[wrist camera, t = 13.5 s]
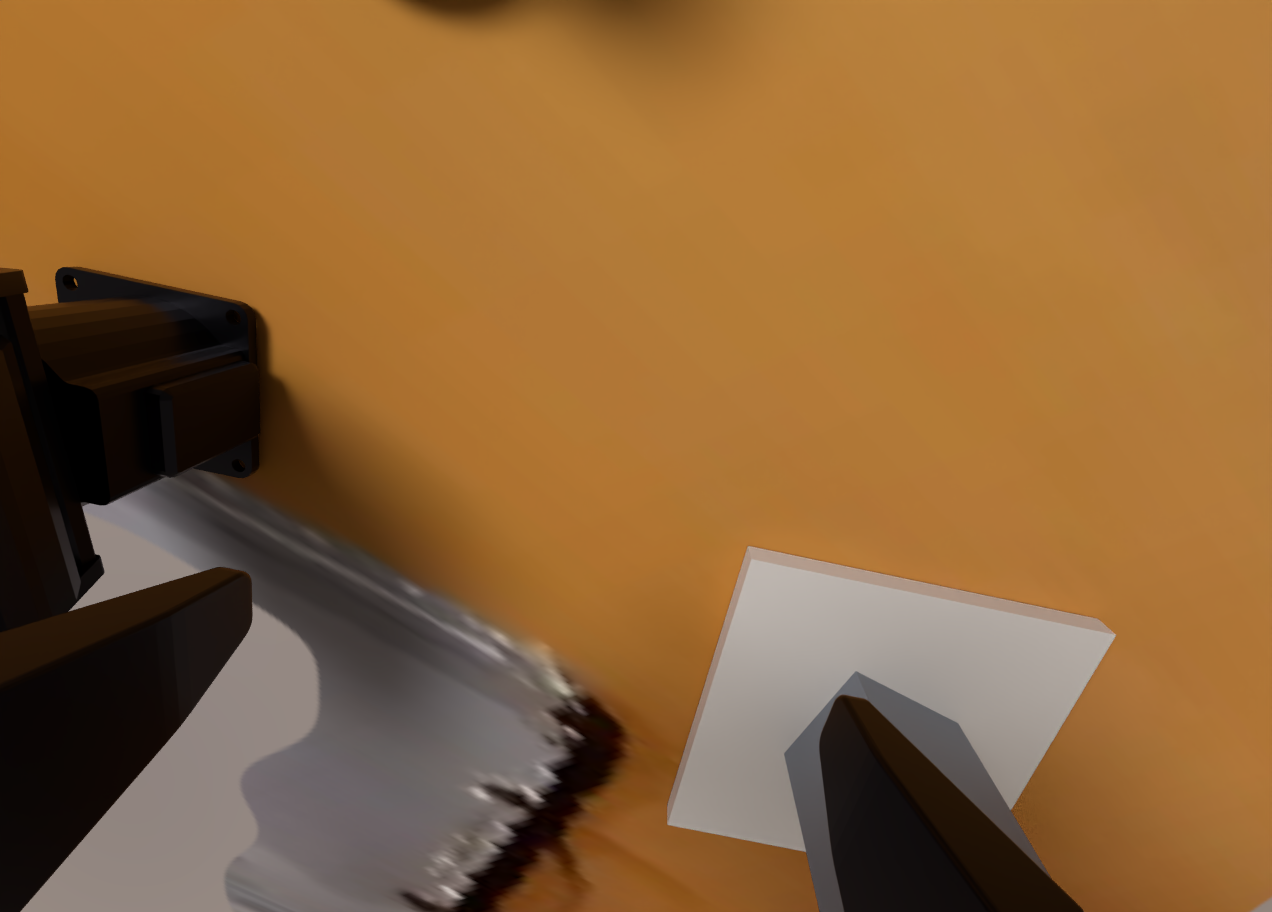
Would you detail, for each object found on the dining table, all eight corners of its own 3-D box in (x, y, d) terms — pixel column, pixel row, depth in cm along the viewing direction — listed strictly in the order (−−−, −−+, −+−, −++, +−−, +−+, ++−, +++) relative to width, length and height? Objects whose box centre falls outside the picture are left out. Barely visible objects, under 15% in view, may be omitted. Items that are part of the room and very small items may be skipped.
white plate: (667, 804, 28) (667, 824, 27) (747, 545, 23) (751, 559, 22) (956, 861, 28) (966, 883, 27) (1097, 618, 23) (1116, 635, 22)
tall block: (783, 753, 25) (896, 1250, 13) (855, 670, 23) (1064, 1150, 11) (881, 800, 25) (1079, 1317, 13) (958, 723, 24) (1263, 1231, 12)
